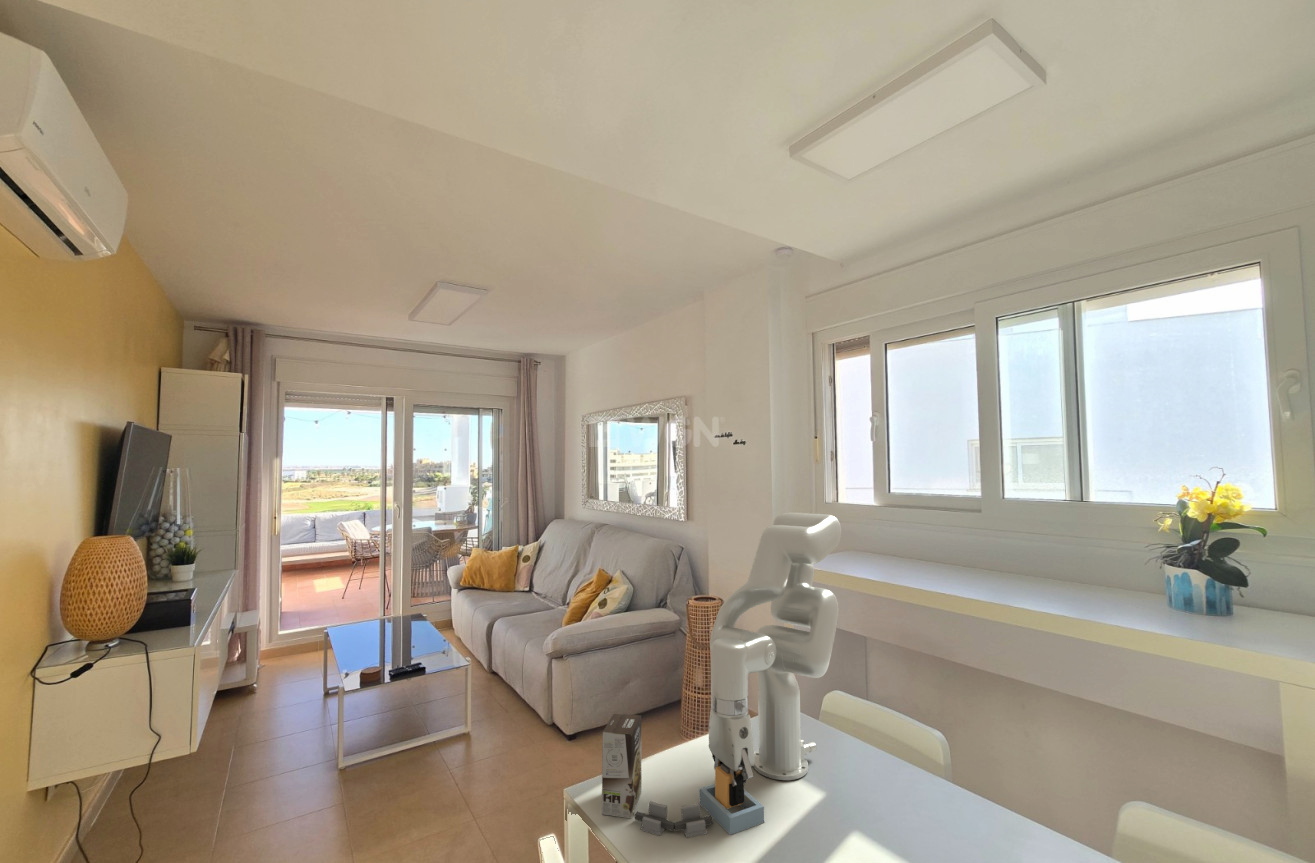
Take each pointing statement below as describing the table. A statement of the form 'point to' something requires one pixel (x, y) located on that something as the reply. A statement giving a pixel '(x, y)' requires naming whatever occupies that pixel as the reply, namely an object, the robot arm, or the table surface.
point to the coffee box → (621, 765)
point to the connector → (723, 785)
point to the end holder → (735, 821)
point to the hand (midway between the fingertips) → (729, 796)
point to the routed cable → (673, 825)
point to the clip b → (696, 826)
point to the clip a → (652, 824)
